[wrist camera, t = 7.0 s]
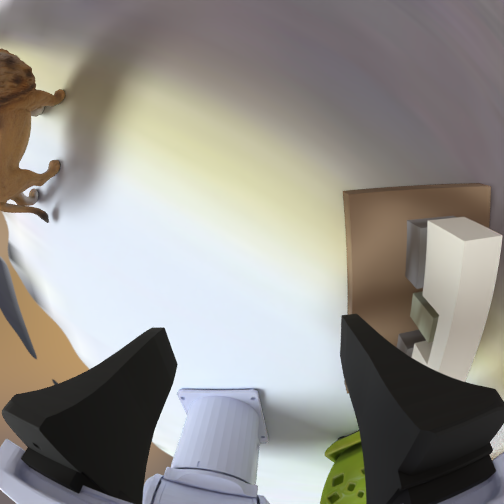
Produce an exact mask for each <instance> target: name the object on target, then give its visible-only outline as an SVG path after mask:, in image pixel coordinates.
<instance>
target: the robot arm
mask: <svg viewBox="0 0 504 504" xmlns="http://www.w3.org/2000/svg"><path fill="white" fill-rule="evenodd" d="M340 357H341V363H342V369H343V374H344V378H345V382H346V385H347V388H348V391H349V395H350V398H351V401H352V404H353V408H354V411H355V415H356V418H357V422H358V426H359V431H360V438H361V445H362V452H363V461H364V471H365V483H366V504H504V452H503V453H502V454H500V455H499V456H497V457H496V458H495V459H493V460H491V457H490V455H489V454H491V453H492V451H493V449H492V446H491V444H490V441H491V440H492V439H493V437H494V436H495V435H496V433H497V432H498V431H499V429H500V428H501V427H502V425H503V423H504V402H503V400H502V398H501V397H500V395H499V394H498V392H497V391H496V390H495V389H492V388H488V387H483V386H478V385H474V384H470V383H467V382H464V381H460V380H457V379H454V378H452V377H449V376H447V375H444V374H442V373H440V372H438V371H435V370H433V369H431V368H429V367H427V366H425V365H423V364H422V363H420V362H418V361H416V360H415V359H413V358H411V357H410V356H408V355H407V354H405V353H404V352H402V351H401V350H400V349H398V348H397V347H395V346H394V345H393V344H391V343H390V342H389V341H387V340H386V339H385V338H384V337H383V336H381V335H380V334H379V333H378V332H377V331H376V330H375V329H373V328H372V327H371V326H370V325H369V324H368V323H367V322H366V321H365V320H363V319H362V318H361V317H360V316H359V315H358V314H349V315H342V322H341V349H340ZM176 368H177V362H176V359H175V356H174V353H173V351H172V348H171V345H170V342H169V339H168V337H167V334H166V331H165V328H151V329H149V330H147V331H146V332H144V333H143V334H141V335H140V336H138V337H137V338H136V339H134V340H133V341H132V342H130V343H129V344H127V345H126V346H125V347H123V348H122V349H121V350H119V351H118V352H116V353H115V354H113V355H112V356H110V357H109V358H107V359H106V360H104V361H103V362H101V363H100V364H98V365H97V366H95V367H93V368H91V369H90V370H88V371H86V372H84V373H82V374H80V375H78V376H76V377H74V378H71V379H69V380H67V381H64V382H62V383H59V384H57V385H54V386H51V387H47V388H44V389H41V390H37V391H32V392H27V393H22V394H16V395H15V396H14V397H12V399H11V400H10V401H9V402H8V404H7V405H6V406H5V407H4V409H3V410H2V415H3V418H4V419H5V421H6V423H7V424H8V425H9V426H10V428H11V429H12V430H13V431H14V432H15V433H16V435H17V436H18V437H19V438H20V439H21V440H22V441H23V442H24V443H25V444H26V446H27V447H28V448H27V450H26V451H24V450H23V449H22V448H21V447H19V446H17V445H16V444H14V443H13V442H11V441H10V440H8V439H6V440H5V441H4V443H3V444H2V445H1V447H0V490H2V491H3V492H4V493H5V494H6V495H7V496H8V497H10V498H11V499H12V500H13V501H14V502H15V503H17V504H270V503H269V502H268V501H267V500H266V498H265V497H264V496H262V495H257V491H258V486H257V485H255V484H256V478H257V467H258V456H259V444H260V443H267V442H268V441H269V438H268V434H267V429H266V425H265V421H264V416H263V412H262V407H261V403H260V398H259V394H258V391H256V390H253V389H251V390H184V389H180V390H178V392H177V395H178V397H179V399H180V402H181V404H182V406H183V408H184V410H185V412H186V414H187V417H186V421H185V424H184V427H183V430H182V433H181V436H180V439H179V442H178V446H177V449H176V452H175V455H174V458H173V461H172V464H171V468H170V467H167V468H166V471H165V474H164V476H163V475H160V474H155V475H154V476H152V477H150V478H148V479H147V481H146V482H145V484H144V479H145V472H146V465H147V460H148V455H149V450H150V445H151V441H152V437H153V433H154V430H155V427H156V424H157V421H158V419H159V417H160V414H161V412H162V409H163V407H164V404H165V402H166V399H167V397H168V395H169V392H170V390H171V387H172V384H173V381H174V377H175V373H176ZM253 397H255V398H253Z"/></svg>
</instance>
